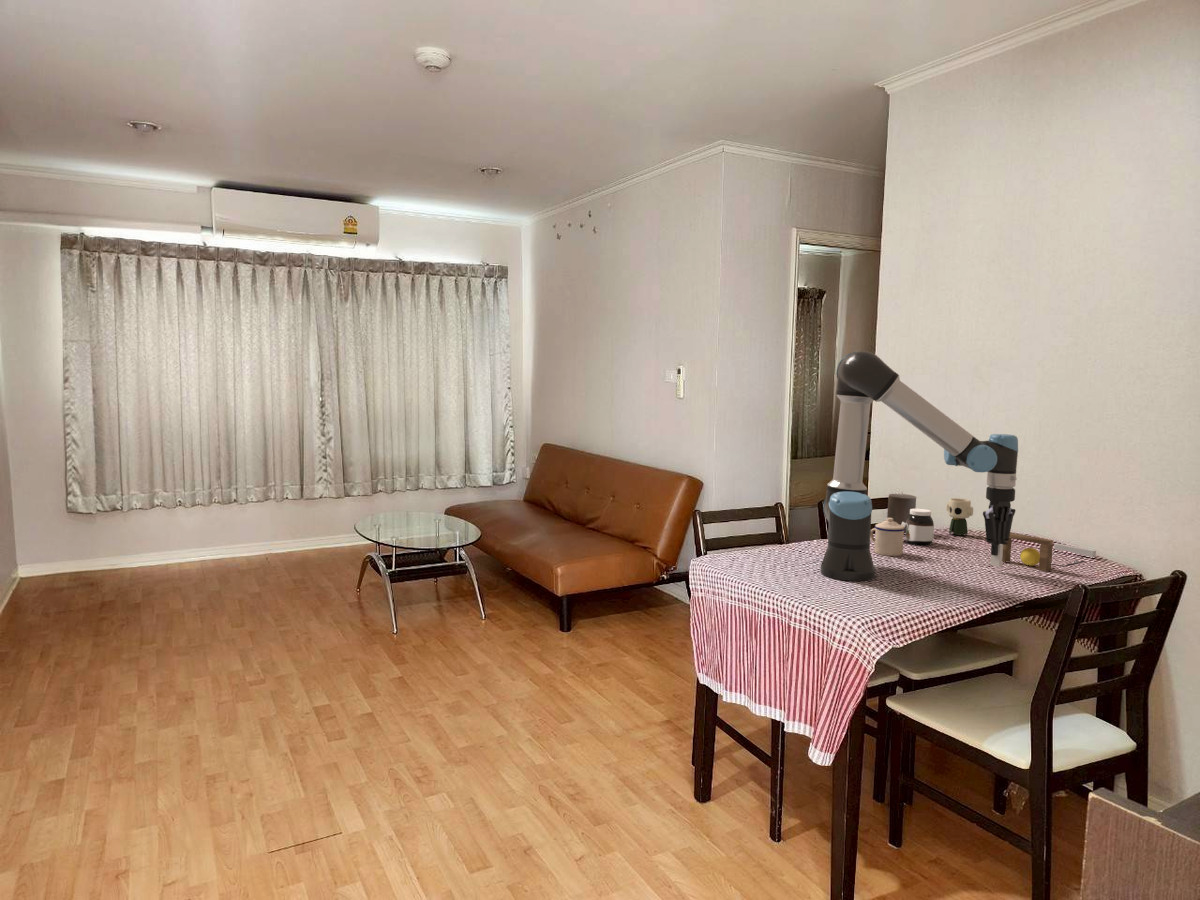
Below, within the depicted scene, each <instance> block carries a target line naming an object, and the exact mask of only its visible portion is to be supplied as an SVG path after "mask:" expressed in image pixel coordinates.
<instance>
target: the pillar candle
mask: <svg viewBox="0 0 1200 900" xmlns="http://www.w3.org/2000/svg"><path fill="white" fill-rule="evenodd" d="M887 498H888V499H887V500H888V501H887V514H886V517H887V518H893V521H895V522H897V523H898V524H900V525H901V524H902V522H904V523H906V520H907V518H908V516H909V515H910V509H917V507H916V506H917V496H915V495H911V494H907V493H906V494H905V493H903V492H901V493H889V494H888V497H887ZM887 518H886V519H887ZM904 528H905V530H904V533H906V525H905V527H904Z"/></svg>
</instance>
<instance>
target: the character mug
mask: <svg viewBox="0 0 1200 900" xmlns="http://www.w3.org/2000/svg"><path fill="white" fill-rule="evenodd" d="M971 503H972V501H971V500H970V499H967V498H966V499H965V498H949V502H947V503H946V511H947V512H948V516H949V517H950V518H951V521H950V524H949V530H948V534H950V535H951V534H952V533H953V535H954V534H955V536H961V535H962V536H965V535H968V521H967V519H969V518H970V517H972V516H973V515H974V507H973V506H971V505H972V504H971ZM964 534H965V535H964Z"/></svg>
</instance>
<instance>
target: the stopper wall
mask: <svg viewBox="0 0 1200 900" xmlns="http://www.w3.org/2000/svg"><path fill="white" fill-rule="evenodd" d="M1054 549H1057V550H1062V551H1069V552H1072V553H1076V554H1082V555H1085V556H1089V557H1092V558H1093V557H1097V556H1096V555H1097V550H1095V549H1094V550H1093V549H1089V548H1084V547H1079V546H1074V545H1070V544H1069V545H1067V544H1063V543H1053V550H1054Z"/></svg>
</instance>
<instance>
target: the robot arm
mask: <svg viewBox="0 0 1200 900" xmlns="http://www.w3.org/2000/svg"><path fill="white" fill-rule="evenodd" d="M836 378H837V383H836V392H835V393H836V394H835V396H836V397H837V398H838V399H839V401H840V404H839V406H840V407H839V417H838V424H837V437H836V444H835V446H836V447H835V455H834V465H833V477H832V479H831V480H830V481H829V482H828V483H827V484H826V495H825V499H824V501H823V506H822V510H823V515H824V517H825V519H826V520H827V522H828V528H827V529H828V533H827V535H828V536H827V548H826V550H825V553H824V556H823V558H822V561H821V563H820V574H821V575H823V576H825V577H828V578H831V579H836V580H840V581H841V580H843V581H854V582H855V581H858V582H859V581H861V582H863V581H871V580H872V579H875V578H876V567H875V565H874V560H873V557H872V554H871V538H870V533H871V530H872V529H871V527H872V526H871V525H872V512H873V503H872V499H871V497H870V496H868V495H867V491H868V489H867V488H868V487H867V486H866V485H865V484H864V482H863V479H864V478H863V477H864V470H865V458H866V449H867V443H868V442H867V439H868V431H869V423H870V422H869V421H870V412H871V405H872V402H876V403H877V402H881V403H883V404H884V405H885V406H887V407H888V408H890V409H891V410H892V411H893V412H895V413H896V414H897V415H899V416H900V417H901V418H902V419H904V420H905V421H907V422H908V423H909V424H911V425H912V426H913V427H915V428H916V429H917V430H918V431H920V432H921V433H922V434H924V435H925V436H927V437H928V438H929V439H930V440H932V441H933V442H935V443H936V444H938V446H940V447H941V448H942V449H943V457H944V458H943V459H944V463H945V464H946V465H947V466H955V467H960V466H961V467H965V468H968V469H970V470H971V471H972V472H975V473H987V474H986V475H987V476H986V485H987V487H986V493H985V499H986V500H988V501H989V505H988V510H987V511H986V510H984V511H983V512H982V516H983V518H984V526H985V539H986V542H987V544H990V545H991V546H990V562H989V564H990V566H993V567H998V568H1001V567H1003V562H1002V557H1003V544H1005V545H1007V543H1008V542H1005V541H1008V540H1009V536H1010V532H1012V525H1013V520H1014V516H1015V513H1016V509H1015V508H1011V506H1012V505H1011V502H1014V501H1015V498H1016V489H1015V487H1016V481H1017V467H1018V466H1017V465H1018V454H1019V438H1018V437H1017V436H1016V435H1015V434H1007V433H1006V434H1004V433H997V434H996V433H993V434H990V435H989V439H988V440H979V439H977V438H976V437H975V436H974V435H972V434H971V433H970V432H969V431H968V430H966V429H965V428H963V427H962V426H961V425H959V424H958V423H957V422H955V421H954V420H953V419H952V418H950V417H949V416H947V415H946V414H945V413H944V412H942V411H941V410H940V409H938V408H937V407H935V405H933V404H932V403H930V402H929V401H928V400H927V399H925V398H924V397H922V396H921V395H920V394H918V393H917V391H914V390H913V389H912V388H910V387H909V386H908V385H906V384H905V383H904V382H903V381H901V380H900V374H899V373H897V372H895V370H893V369H892V368H891V367H890V366H889V365H887V364H886V363H885V362H884V361H883V359H881V358H880V356H878V355H877V354H875V353H874V352H870V351H868V350H862V351H861V350H860V351H853V352H849V353H847V354H846V355H845V356H844V357H842V358H841V360H840V361H839V362H838V364H837V368H836Z"/></svg>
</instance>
